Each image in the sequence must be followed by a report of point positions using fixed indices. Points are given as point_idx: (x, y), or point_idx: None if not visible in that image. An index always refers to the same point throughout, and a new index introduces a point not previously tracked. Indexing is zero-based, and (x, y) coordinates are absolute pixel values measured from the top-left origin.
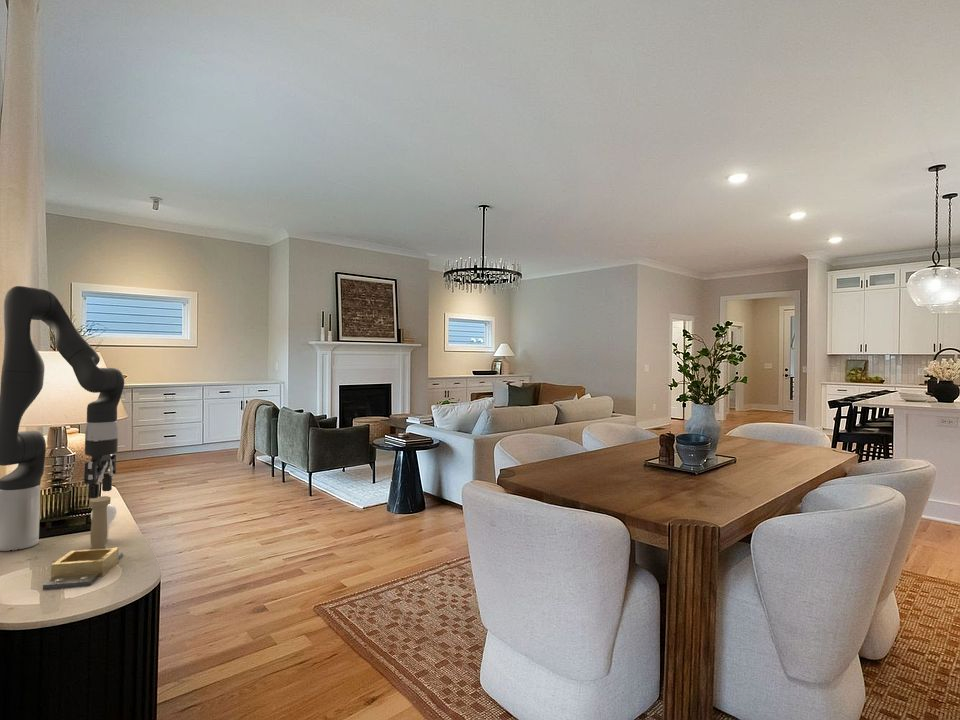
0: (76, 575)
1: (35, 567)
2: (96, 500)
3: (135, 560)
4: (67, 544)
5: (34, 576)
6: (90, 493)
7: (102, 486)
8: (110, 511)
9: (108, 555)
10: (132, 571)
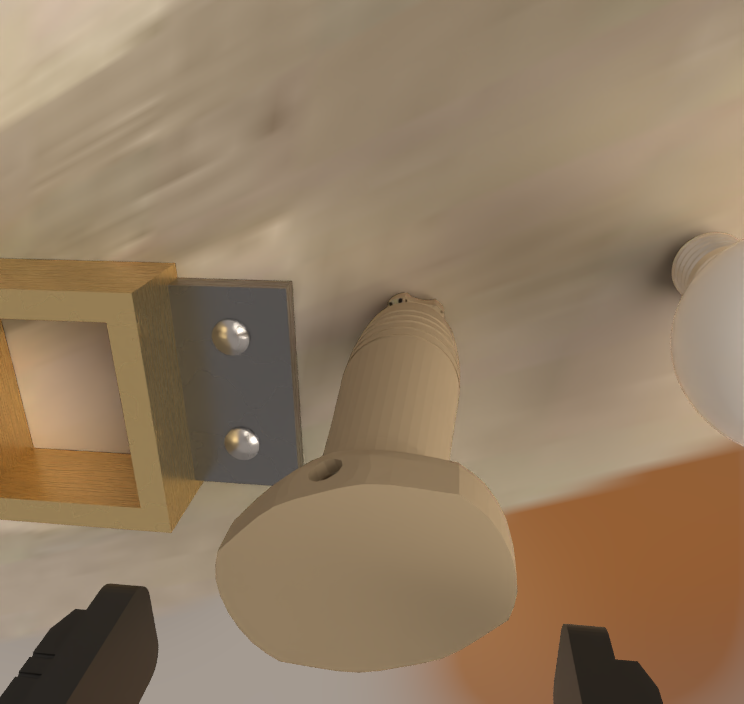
0: None
1: (166, 50)
2: (288, 567)
3: None
4: (675, 24)
5: (20, 131)
6: (41, 661)
7: (577, 682)
8: (727, 435)
9: (42, 519)
10: (82, 561)
